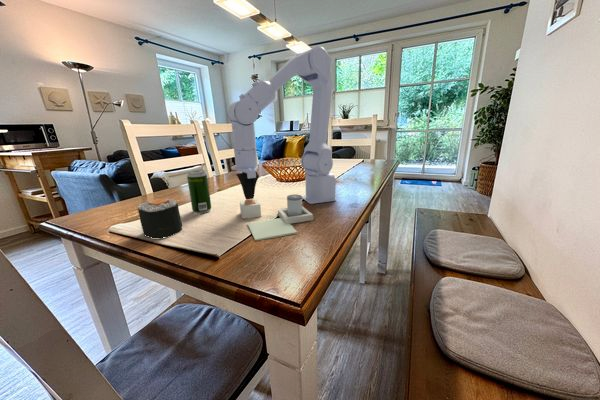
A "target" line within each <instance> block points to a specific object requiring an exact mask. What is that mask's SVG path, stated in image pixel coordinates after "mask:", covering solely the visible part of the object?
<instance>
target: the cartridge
mask: <svg viewBox="0 0 600 400" xmlns="http://www.w3.org/2000/svg"><path fill="white" fill-rule="evenodd" d="M302 196H303V195H301V194H295V193H293V194H288V195H287V196H286V200H287V201H286V205H287V207H286V208H287V211H288V214H287V216H288V217H292V216H298V215H303V214H302V206H303V198H302Z"/></svg>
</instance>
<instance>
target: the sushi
mask: <svg viewBox="0 0 600 400" xmlns="http://www.w3.org/2000/svg"><path fill="white" fill-rule="evenodd" d="M178 204H179V203H178V201H176V200H175V199H173V198H171V199H170V198H156V199H154V200H150V199H149V200H148V199H147V200H146V201H144V202H143V203H139V204H138V205H136V208H137V210H138V215H139V220H140V225H141V229H142V232H143V235H144V236H145V235H146V236H149V237H152V238H163V237H167V238H169V237H168V236H170V237H172V236H174V235H176V234H179V233H180V232H182V230H183V223H182V217H181V213H180V209H179V205H178ZM173 234H174V235H173ZM171 235H172V236H171ZM146 236H145V237H146ZM163 239H164V238H163Z"/></svg>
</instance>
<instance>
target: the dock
mask: <svg viewBox="0 0 600 400" xmlns="http://www.w3.org/2000/svg"><path fill="white" fill-rule="evenodd" d="M277 215H278V217H279V218H282V219H283V220H284V221H285V222H286V223H288V222H289V223H290V224H291V225H292V224H296V223H302V222H308V221H309V222H310V221H313V220H314V214H313V213H312V212H310V210H308V209H307V208H305V207H304V206H303V205H302V215H298V216H292V217H288V211H287V207H286V208H281V209H280V208H279V209H277Z"/></svg>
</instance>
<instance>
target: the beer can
mask: <svg viewBox="0 0 600 400" xmlns="http://www.w3.org/2000/svg"><path fill="white" fill-rule="evenodd" d="M186 174H187V175H186V179H187V185H188V190H189V191H188V192H189V197H190V203H191V210H192V212H193V214H199V215H201V214H205V213H209V212H211V211H212V201H211V195H210V188H209V179H208V174H207V171H206V170H204V169H203V170H202V169H195V170H190V171H187V172H186Z"/></svg>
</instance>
